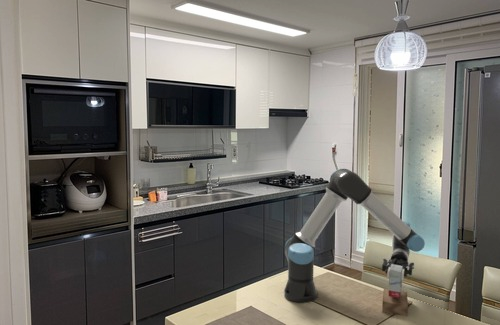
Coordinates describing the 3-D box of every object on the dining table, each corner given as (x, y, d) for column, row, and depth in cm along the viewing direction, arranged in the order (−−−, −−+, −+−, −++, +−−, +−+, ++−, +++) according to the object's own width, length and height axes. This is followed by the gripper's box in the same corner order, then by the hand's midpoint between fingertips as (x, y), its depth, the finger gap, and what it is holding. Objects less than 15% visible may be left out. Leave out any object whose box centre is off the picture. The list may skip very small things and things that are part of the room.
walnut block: (382, 312, 165) (382, 301, 164) (383, 299, 178) (383, 288, 177) (407, 316, 161) (407, 305, 161) (406, 302, 174) (407, 292, 174)
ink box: (400, 298, 164) (401, 272, 163) (387, 296, 166) (389, 270, 165) (401, 291, 171) (403, 265, 170) (390, 288, 174) (391, 263, 172)
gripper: (419, 269, 180) (418, 288, 159) (379, 263, 188) (372, 281, 167) (420, 253, 180) (418, 271, 159) (379, 248, 187) (373, 264, 166)
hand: (395, 276), depth 163 cm, fingers open, 5 cm apart
